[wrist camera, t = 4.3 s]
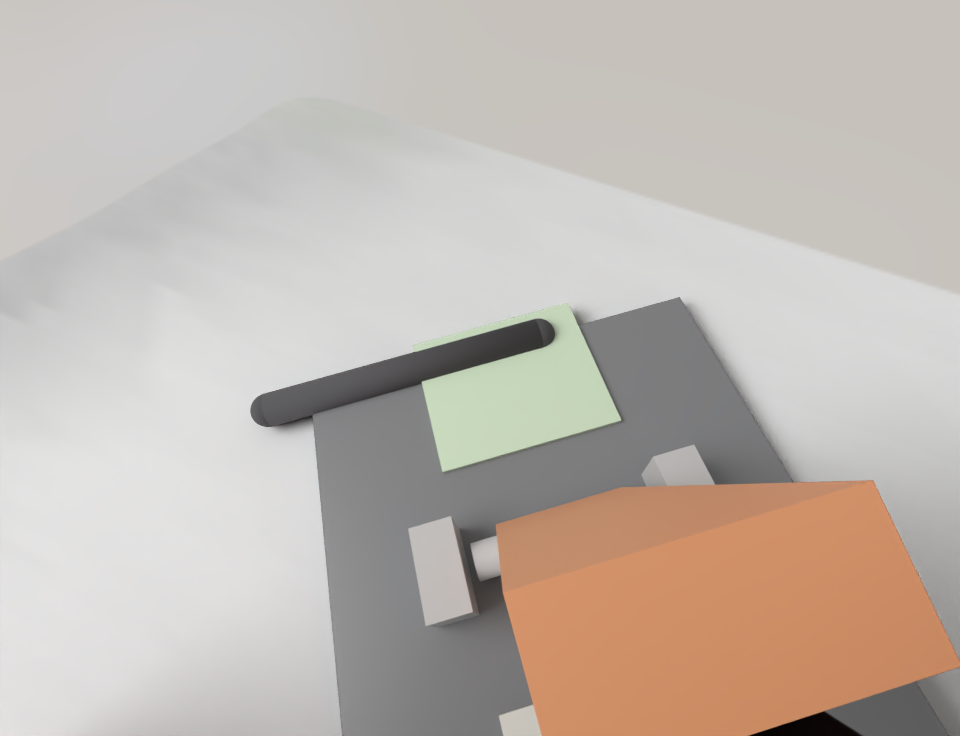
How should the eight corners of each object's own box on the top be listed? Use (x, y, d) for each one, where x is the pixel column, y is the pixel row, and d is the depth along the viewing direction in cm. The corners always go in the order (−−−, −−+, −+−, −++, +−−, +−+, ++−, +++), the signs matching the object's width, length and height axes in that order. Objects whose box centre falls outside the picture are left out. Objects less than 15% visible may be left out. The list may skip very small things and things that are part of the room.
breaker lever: (660, 535, 13) (1048, 638, 4) (483, 589, 13) (465, 828, 4) (640, 479, 14) (950, 456, 4) (468, 530, 14) (416, 618, 4)
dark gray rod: (548, 326, 18) (549, 308, 17) (558, 352, 18) (560, 334, 17) (260, 406, 18) (243, 392, 17) (261, 435, 17) (243, 422, 16)
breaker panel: (1209, 1190, 8) (1412, 1357, 6) (424, 1496, 8) (387, 1785, 6) (664, 285, 19) (678, 245, 17) (314, 382, 18) (288, 352, 16)
